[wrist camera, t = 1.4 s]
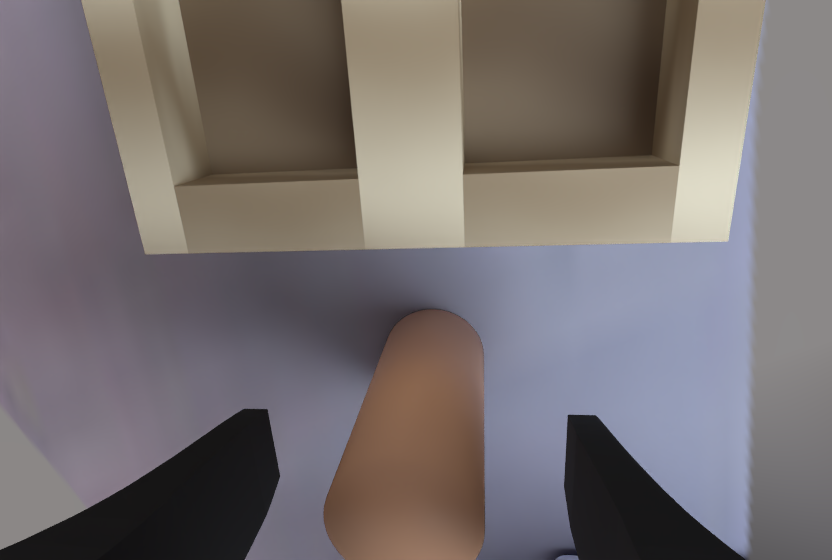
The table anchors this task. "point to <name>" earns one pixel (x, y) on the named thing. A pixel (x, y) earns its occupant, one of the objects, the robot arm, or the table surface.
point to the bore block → (426, 120)
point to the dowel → (416, 449)
